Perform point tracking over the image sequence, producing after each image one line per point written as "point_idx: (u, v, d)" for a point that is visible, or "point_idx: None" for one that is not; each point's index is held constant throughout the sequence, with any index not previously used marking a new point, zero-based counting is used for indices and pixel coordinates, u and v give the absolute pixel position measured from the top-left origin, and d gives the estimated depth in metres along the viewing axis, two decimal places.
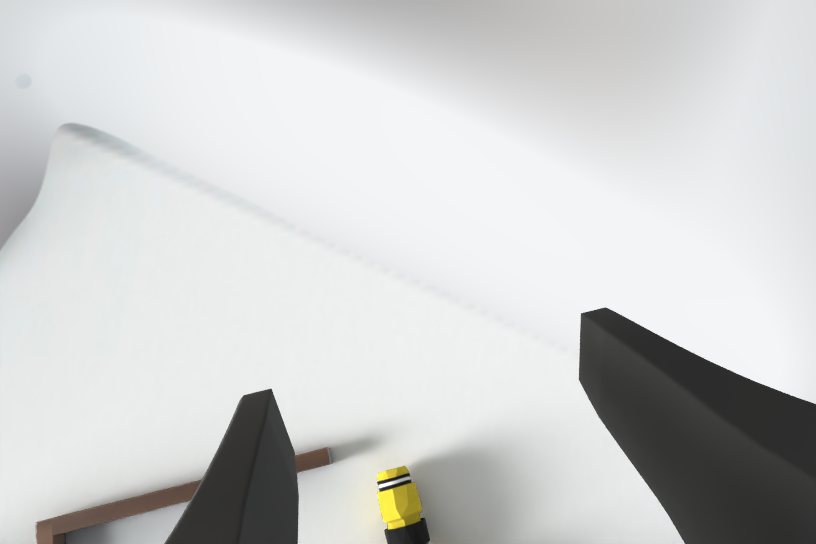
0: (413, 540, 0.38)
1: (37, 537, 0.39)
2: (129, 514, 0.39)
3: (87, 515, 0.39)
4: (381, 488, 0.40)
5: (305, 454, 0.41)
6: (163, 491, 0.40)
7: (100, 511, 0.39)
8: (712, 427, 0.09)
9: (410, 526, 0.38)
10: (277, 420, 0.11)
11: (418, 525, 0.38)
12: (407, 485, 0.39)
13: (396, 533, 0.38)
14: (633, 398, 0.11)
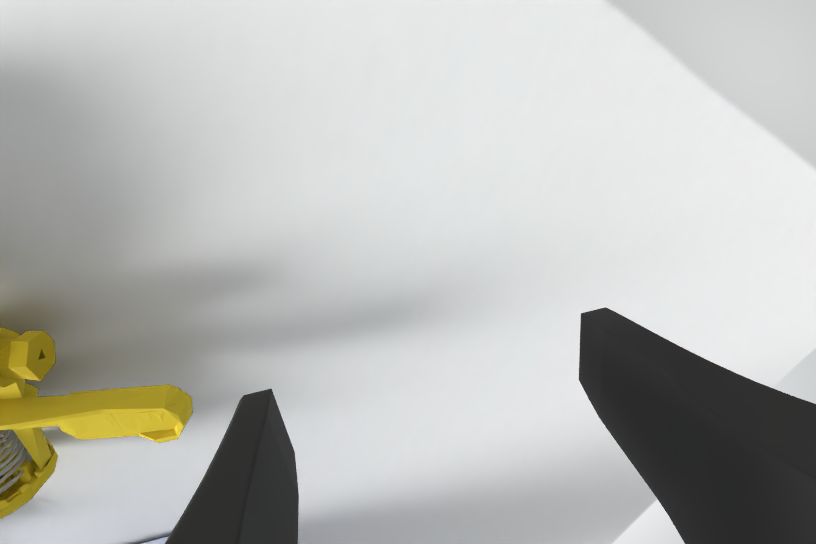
0: None
1: None
2: None
3: None
4: None
5: None
6: None
7: None
8: (712, 427, 0.09)
9: None
10: (277, 420, 0.11)
11: None
12: None
13: None
14: (633, 398, 0.11)
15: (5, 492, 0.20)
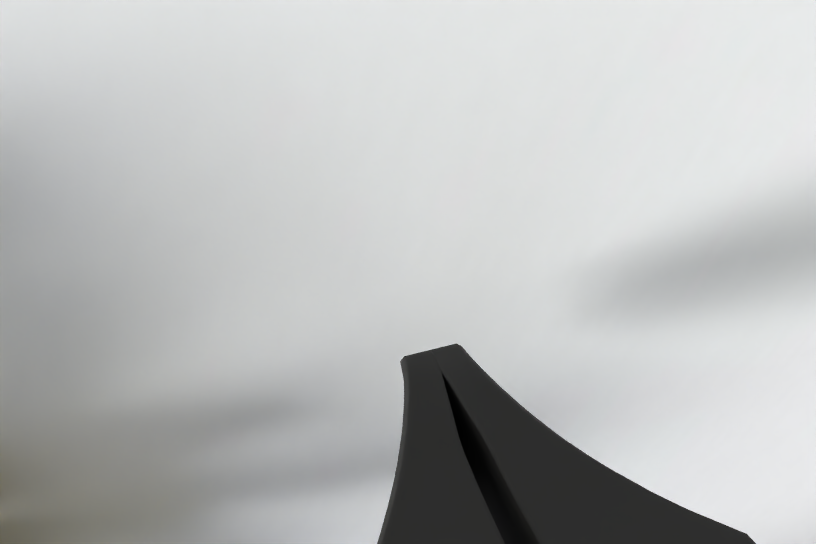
0: None
1: None
2: None
3: None
4: None
5: None
6: None
7: None
8: (502, 484, 0.08)
9: None
10: None
11: None
12: None
13: None
14: (465, 442, 0.11)
15: None
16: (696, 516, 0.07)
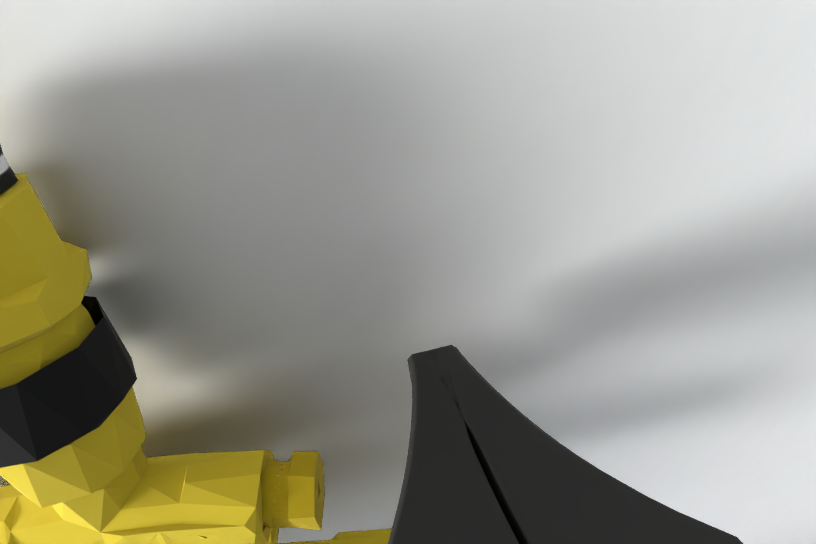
0: (28, 438, 0.09)
1: None
2: None
3: None
4: None
5: None
6: None
7: None
8: (494, 487, 0.08)
9: (0, 397, 0.08)
10: None
11: (49, 380, 0.09)
12: None
13: None
14: None
15: None
16: (687, 519, 0.06)
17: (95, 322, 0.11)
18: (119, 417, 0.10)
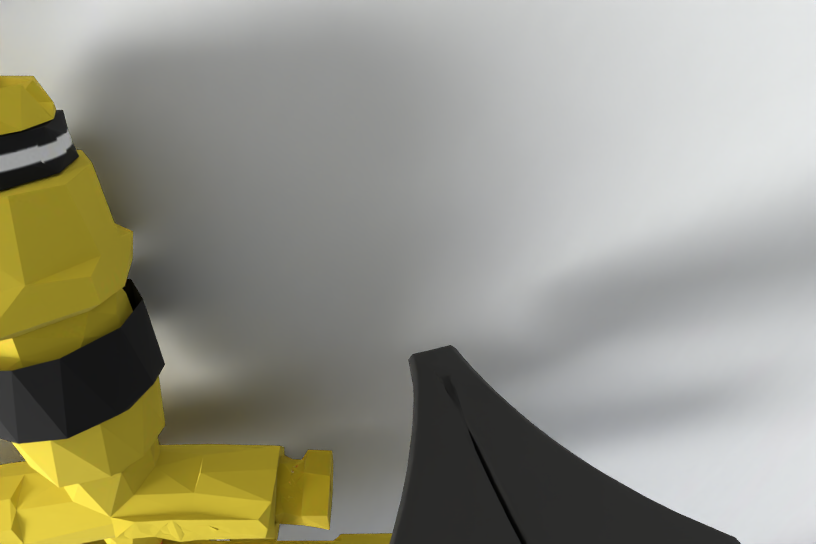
0: (61, 415, 0.09)
1: None
2: None
3: None
4: None
5: None
6: None
7: None
8: (492, 487, 0.08)
9: (42, 370, 0.08)
10: None
11: (90, 358, 0.09)
12: (18, 199, 0.07)
13: None
14: None
15: None
16: (685, 519, 0.06)
17: None
18: (146, 401, 0.10)
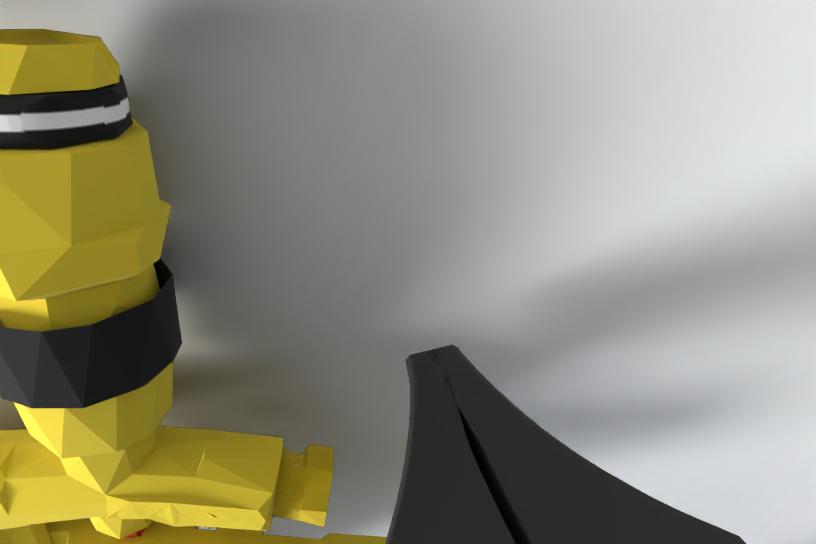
0: (82, 383, 0.09)
1: None
2: None
3: None
4: None
5: None
6: None
7: None
8: (496, 486, 0.08)
9: (72, 335, 0.08)
10: None
11: (120, 328, 0.09)
12: (80, 157, 0.07)
13: None
14: None
15: None
16: (689, 518, 0.07)
17: None
18: (161, 378, 0.10)
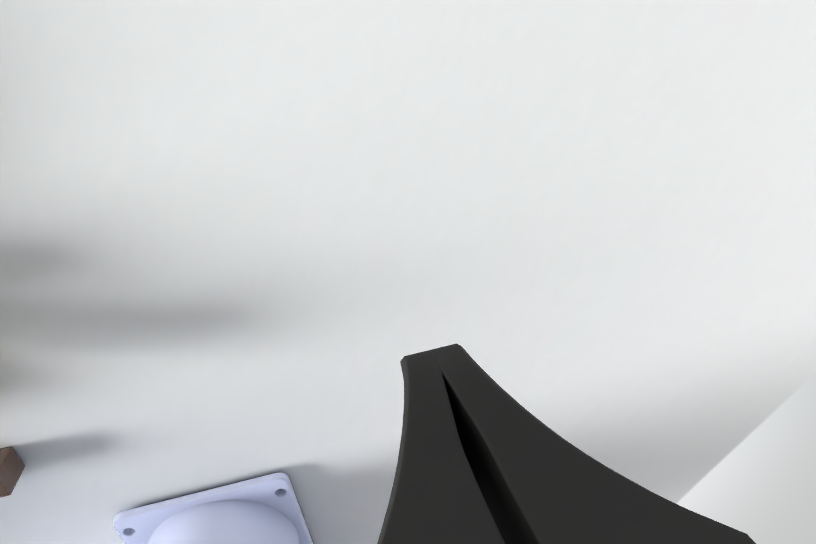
0: None
1: None
2: None
3: None
4: None
5: None
6: None
7: None
8: (501, 484, 0.08)
9: None
10: None
11: None
12: None
13: None
14: (465, 442, 0.11)
15: None
16: (696, 516, 0.07)
17: None
18: None
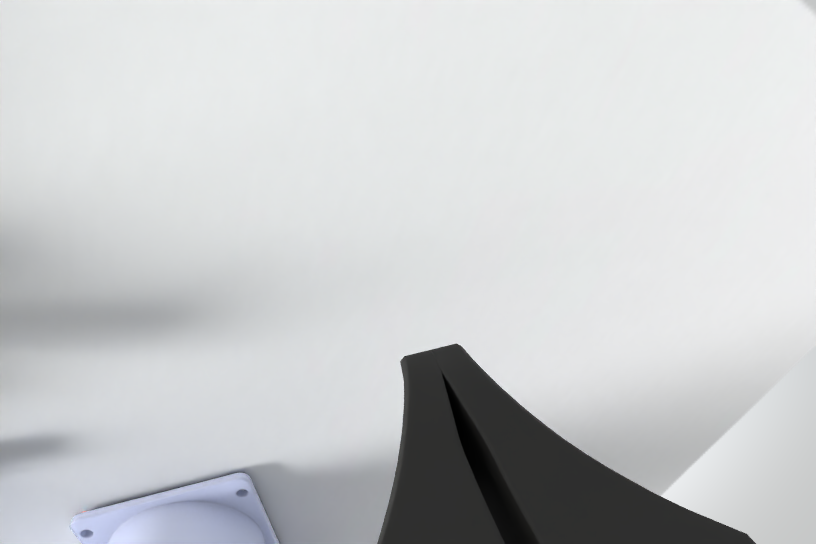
0: None
1: None
2: None
3: None
4: None
5: None
6: None
7: None
8: (501, 484, 0.08)
9: None
10: None
11: None
12: None
13: None
14: (465, 442, 0.11)
15: None
16: (696, 516, 0.07)
17: None
18: None
